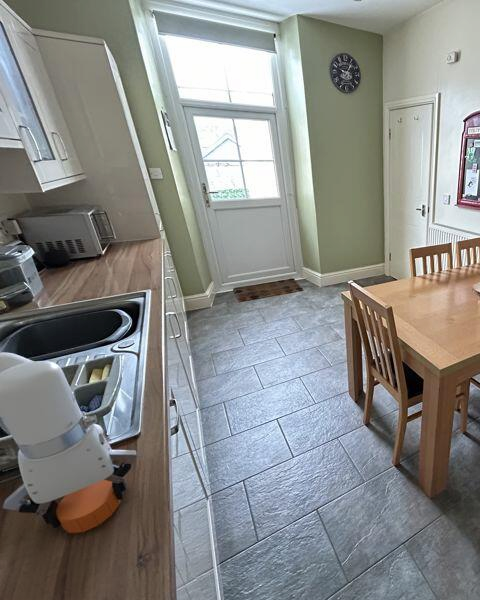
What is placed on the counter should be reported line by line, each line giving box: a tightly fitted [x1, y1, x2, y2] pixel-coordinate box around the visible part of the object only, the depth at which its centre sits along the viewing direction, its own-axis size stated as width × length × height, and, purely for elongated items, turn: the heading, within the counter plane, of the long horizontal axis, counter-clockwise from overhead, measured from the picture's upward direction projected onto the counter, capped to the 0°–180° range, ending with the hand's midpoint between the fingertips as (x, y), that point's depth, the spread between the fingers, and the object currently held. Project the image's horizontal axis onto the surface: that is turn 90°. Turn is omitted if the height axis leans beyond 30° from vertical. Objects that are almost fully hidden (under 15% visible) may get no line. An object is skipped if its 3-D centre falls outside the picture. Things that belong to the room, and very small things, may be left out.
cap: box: [56, 480, 121, 534], centre depth 59 cm, size 8×8×4 cm
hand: (91, 506), depth 59 cm, fingers closed on cap, 8 cm apart
